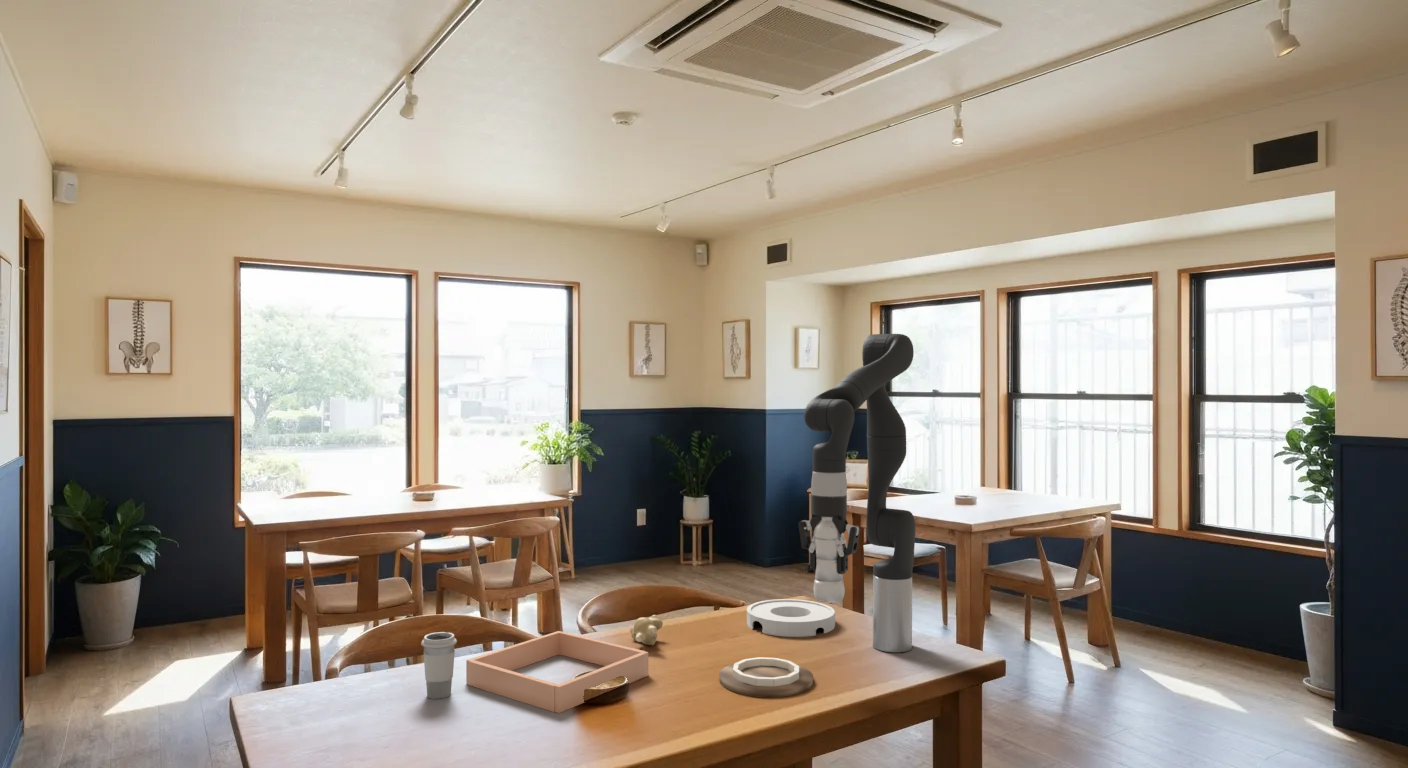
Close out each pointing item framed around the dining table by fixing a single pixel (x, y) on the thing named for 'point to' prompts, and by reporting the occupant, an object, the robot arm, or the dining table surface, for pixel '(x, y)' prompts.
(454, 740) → the dining table surface
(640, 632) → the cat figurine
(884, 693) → the dining table surface
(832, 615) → the white round disc base
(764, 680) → the ring
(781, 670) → the round tan coaster
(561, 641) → the peach open square frame
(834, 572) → the plastic bottle
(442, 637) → the cup
